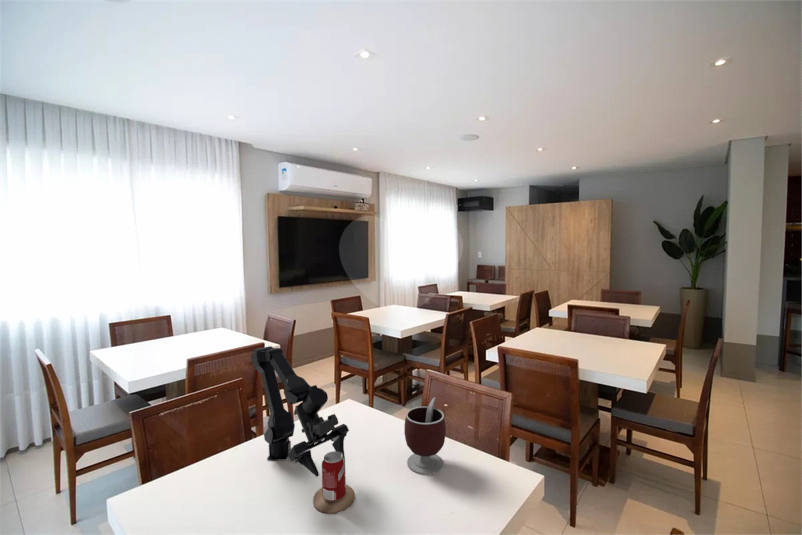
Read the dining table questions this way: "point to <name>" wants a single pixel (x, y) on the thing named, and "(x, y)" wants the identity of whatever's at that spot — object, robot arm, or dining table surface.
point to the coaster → (335, 506)
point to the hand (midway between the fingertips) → (331, 469)
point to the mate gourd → (425, 438)
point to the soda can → (333, 476)
